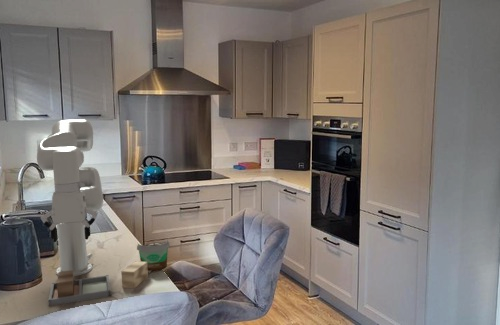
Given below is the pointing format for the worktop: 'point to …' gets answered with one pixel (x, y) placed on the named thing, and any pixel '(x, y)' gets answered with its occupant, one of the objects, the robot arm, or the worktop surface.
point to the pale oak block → (134, 274)
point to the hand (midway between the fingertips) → (71, 239)
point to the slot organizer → (91, 290)
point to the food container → (154, 255)
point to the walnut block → (65, 284)
